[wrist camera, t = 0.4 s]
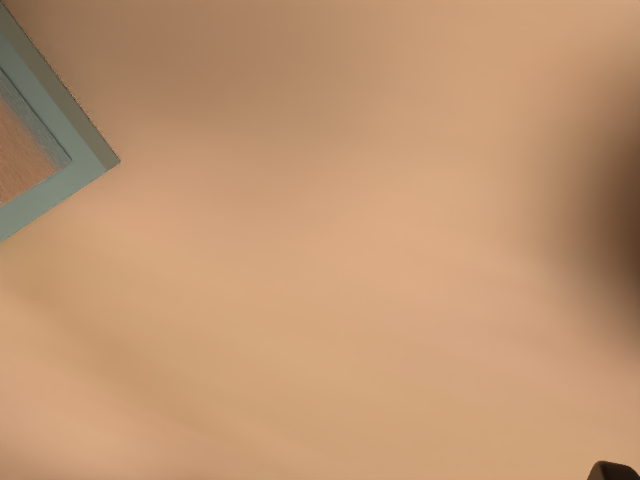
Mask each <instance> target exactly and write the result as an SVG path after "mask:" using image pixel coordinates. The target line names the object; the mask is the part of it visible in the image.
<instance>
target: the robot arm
mask: <svg viewBox="0 0 640 480" xmlns="http://www.w3.org/2000/svg"><path fill="white" fill-rule="evenodd" d="M587 480H640V476H639V475H638V474H637V473H636V471H635V470H633V469H632V468H631V467H629V466H626V465H622V464H617V463H612V462H607V461H598V462H596V463H595V464H594V466H593V468H592V470H591V472H590V474H589V476H588V478H587Z"/></svg>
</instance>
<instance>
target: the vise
mask: <svg viewBox="0 0 640 480" xmlns="http://www.w3.org/2000/svg"><path fill="white" fill-rule="evenodd" d="M0 69H1V70H2V72H3V73H4V74H5V75H6V77H7V78H8V79H9V81H10V82H11V83H12V84H13V86H14V87H15V88H16V90H17V91H18V92H19V94H20V95H21V96H22V97H23V99H24V100H25V101H26V103H27V104H28V105H29V106H30V108H31V109H32V110H33V112H34V113H35V114H36V115H37V117H38V118H39V119H40V121H41V122H42V123H43V124H44V126H45V127H46V128H47V130H48V131H49V132H50V133H51V135H52V136H53V137H54V139H55V140H56V141H57V143H58V144H59V145H60V146H61V148H62V149H63V150H64V152H65V153H66V154H67V155H68V157H69V158H70V159H71V161H72V162H71V163H70V164H69V165H67V166H66V167H64V168H63V169H61V170H60V171H59V172H57V173H56V174H54V175H53V176H52V177H50V178H49V179H47V180H46V181H44V182H43V183H42V184H40V185H38V186H37V187H35V188H33V189H32V190H30V191H28V192H27V193H25V194H23V195H22V196H20V197H18V198H17V199H15V200H13V201H12V202H10V203H8V204H7V205H5V206H3V207H2V208H0V242H1V241H3V240H4V239H6V238H7V237H9V236H10V235H12V234H13V233H15V232H16V231H18V230H19V229H21V228H22V227H24V226H25V225H27V224H28V223H30V222H31V221H33V220H34V219H36V218H37V217H39V216H40V215H42V214H43V213H45V212H46V211H48V210H49V209H51V208H52V207H54V206H55V205H57V204H58V203H60V202H61V201H63V200H64V199H66V198H67V197H69V196H70V195H72V194H73V193H75V192H76V191H78V190H79V189H81V188H82V187H84V186H85V185H87V184H88V183H90V182H91V181H93V180H94V179H96V178H97V177H99V176H100V175H102V174H103V173H105V172H106V171H108V170H109V169H111V168H112V167H114V166H115V165H117V164H118V163H120V160H119V159H118V158H117V156H116V155H115V154H114V152H113V151H112V150H111V148H110V147H109V146H108V144H107V143H106V142H105V140H104V139H103V138H102V136H101V135H100V134H99V132H98V131H97V130H96V128H95V127H94V126H93V124H92V123H91V122H90V120H89V119H88V118H87V116H86V115H85V114H84V112H83V111H82V110H81V108H80V107H79V106H78V104H77V103H76V102H75V100H74V99H73V98H72V96H71V95H70V94H69V92H68V91H67V90H66V88H65V87H64V86H63V84H62V83H61V82H60V80H59V79H58V78H57V76H56V75H55V73H54V72H53V71H52V69H51V68H50V67H49V65H48V64H47V63H46V61H45V60H44V59H43V57H42V56H41V55H40V53H39V52H38V51H37V49H36V48H35V47H34V45H33V44H32V43H31V41H30V40H29V39H28V37H27V36H26V35H25V33H24V32H23V31H22V29H21V28H20V27H19V25H18V24H17V23H16V21H15V20H14V19H13V17H12V16H11V15H10V13H9V12H8V11H7V9H6V8H5V7H4V5H3V4H2V3H1V1H0Z"/></svg>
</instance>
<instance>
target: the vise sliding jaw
mask: <svg viewBox="0 0 640 480" xmlns="http://www.w3.org/2000/svg"><path fill="white" fill-rule="evenodd" d="M71 162H72V161H71V159H70V158H69V157H68V155H67V154H66V153H65V152H64V150H63V149H62V148H61V146H60V145H59V144H58V143H57V141H56V140H55V139H54V137H53V136H52V135H51V133H50V132H49V131H48V130H47V128H46V127H45V126H44V124H43V123H42V122H41V121H40V119H39V118H38V117H37V115H36V114H35V113H34V112H33V110H32V109H31V108H30V106H29V105H28V104H27V103H26V101H25V100H24V99H23V97H22V96H21V95H20V94H19V92H18V91H17V90H16V88H15V87H14V86H13V84H12V83H11V82H10V81H9V79H8V78H7V77H6V75H5V74H4V73H3V72H2V70H1V69H0V208H2V207H3V206H5V205H7V204H8V203H10V202H12V201H13V200H15V199H17V198H18V197H20V196H22V195H23V194H25V193H27V192H28V191H30V190H32V189H33V188H35V187H37V186H38V185H40V184H42V183H43V182H44V181H46V180H47V179H49V178H50V177H52V176H53V175H54V174H56V173H57V172H59V171H60V170H61V169H63V168H64V167H66V166H67V165H69V164H70V163H71Z"/></svg>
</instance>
